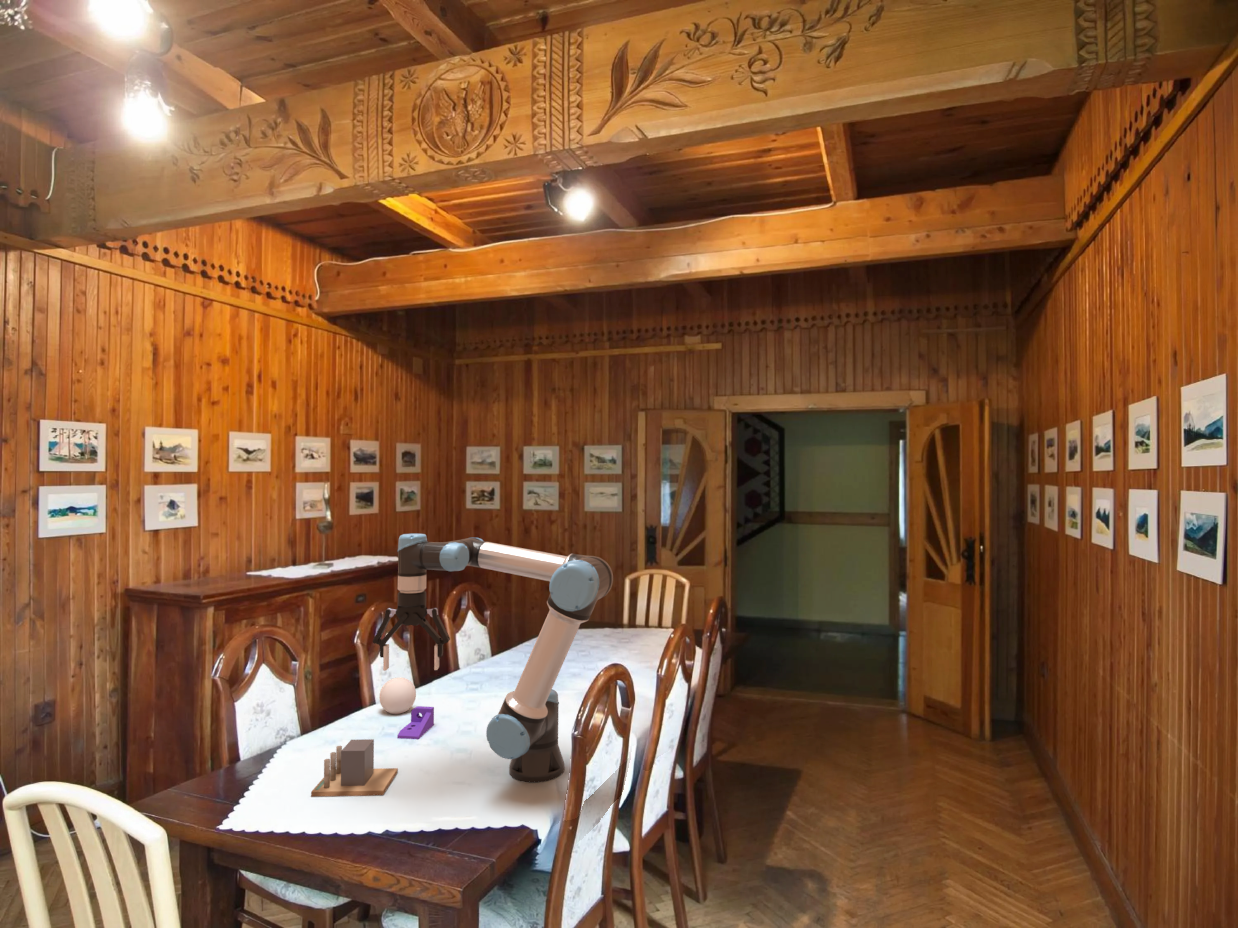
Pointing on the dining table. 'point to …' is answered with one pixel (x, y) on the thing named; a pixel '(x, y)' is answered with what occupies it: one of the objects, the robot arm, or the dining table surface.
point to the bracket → (418, 723)
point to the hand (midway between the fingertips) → (411, 669)
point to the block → (357, 762)
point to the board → (333, 786)
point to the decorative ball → (397, 695)
